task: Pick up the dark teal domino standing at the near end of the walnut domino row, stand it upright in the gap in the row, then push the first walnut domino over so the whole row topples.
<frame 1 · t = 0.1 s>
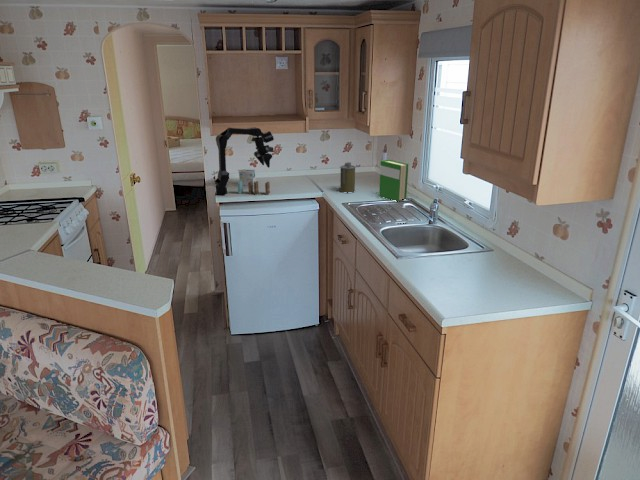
hand: (266, 166, 327), 15 cm above the worktop, tool pointing down, fingers open, 9 cm apart
canister: (347, 191, 321), on the worktop
domino a: (251, 193, 318), on the worktop
hardback book: (392, 198, 304), on the worktop
teal domino: (240, 192, 319), on the worktop
light bulb box: (247, 184, 341), on the worktop
domino b: (256, 193, 317), on the worktop
domino d: (267, 193, 316), on the worktop
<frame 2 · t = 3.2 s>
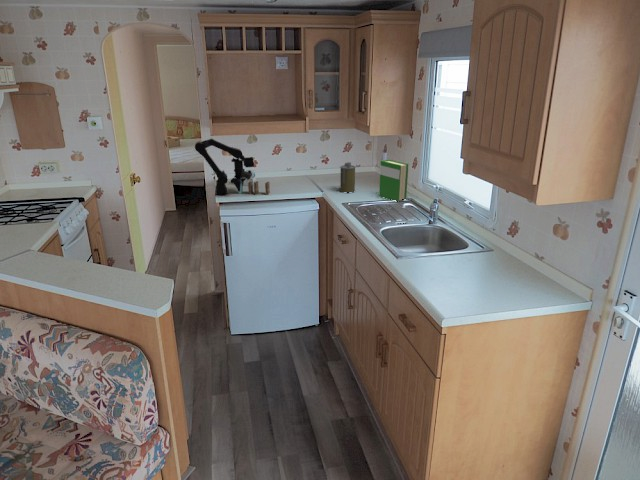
hand: (240, 190, 318), 2 cm above the worktop, tool pointing down, fingers closed on teal domino, 5 cm apart
teal domino: (240, 192, 319), on the worktop, touching gripper
everything else where it was.
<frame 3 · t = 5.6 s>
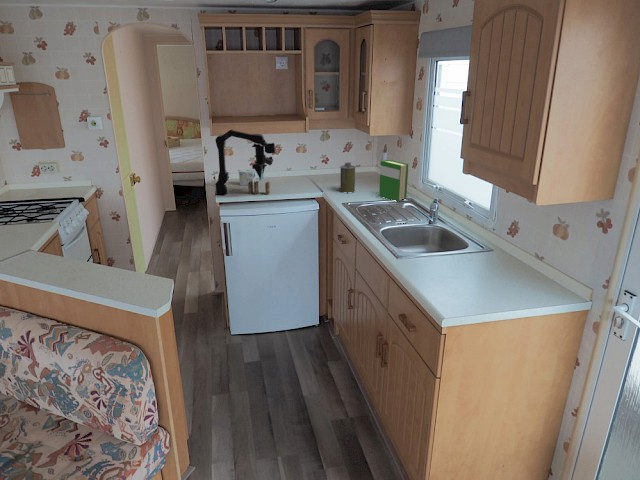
hand: (261, 176, 312), 12 cm above the worktop, tool pointing down, fingers closed on teal domino, 5 cm apart
teal domino: (261, 179, 313), point 10 cm above the worktop, touching gripper
everything else where it was.
when the fingers open (3 cm above the worktop, at t = 8.0 s): teal domino drops 1 cm, on the worktop.
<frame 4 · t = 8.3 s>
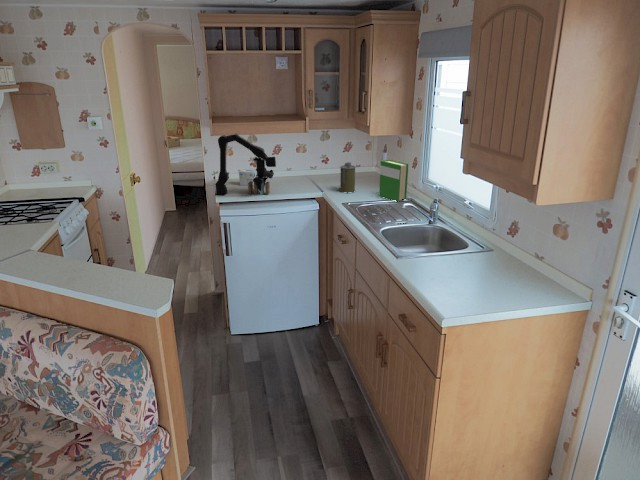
hand: (261, 189, 316), 3 cm above the worktop, tool pointing down, fingers open, 8 cm apart
teal domino: (262, 193, 317), on the worktop
everything else where it was.
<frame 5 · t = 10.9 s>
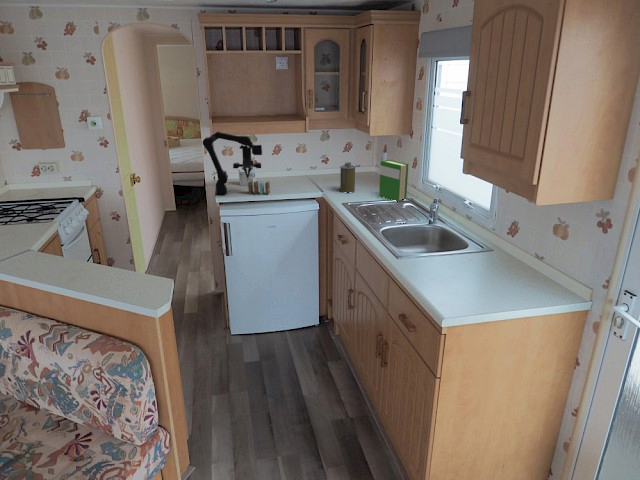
hand: (247, 177, 314), 11 cm above the worktop, tool pointing down, fingers closed
nothing on the worktop moved.
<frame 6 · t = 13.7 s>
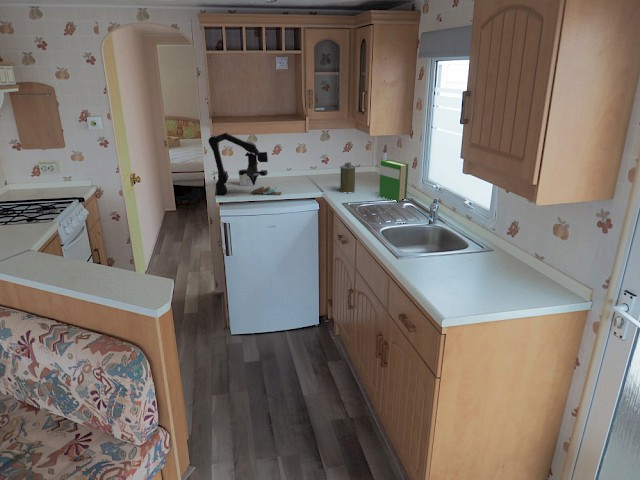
hand: (253, 184, 315), 6 cm above the worktop, tool pointing down, fingers closed
domino a: (252, 192, 318), point 1 cm above the worktop, tilted 67°, touching domino b
teal domino: (264, 192, 316), point 1 cm above the worktop, tilted 74°, touching domino b
domino b: (259, 192, 317), point 1 cm above the worktop, tilted 67°, touching domino a, teal domino
domino d: (269, 193, 316), on the worktop, tilted 90°
everything else where it was.
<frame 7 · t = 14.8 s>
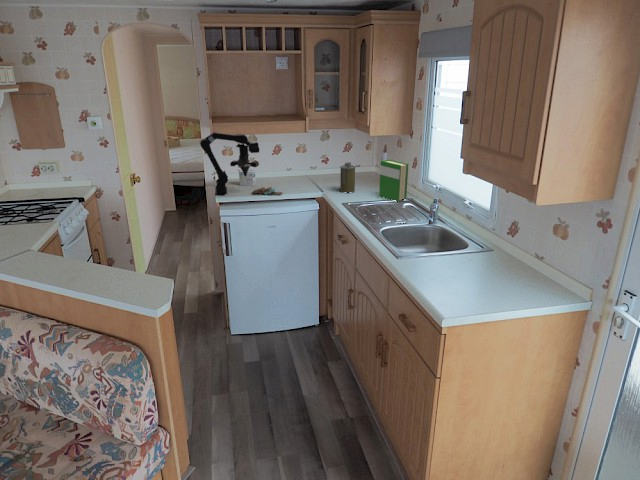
hand: (245, 176, 317), 11 cm above the worktop, tool pointing down, fingers closed
domino a: (253, 192, 318), point 1 cm above the worktop, tilted 69°, touching domino b
teal domino: (265, 192, 316), point 1 cm above the worktop, tilted 68°, touching domino b
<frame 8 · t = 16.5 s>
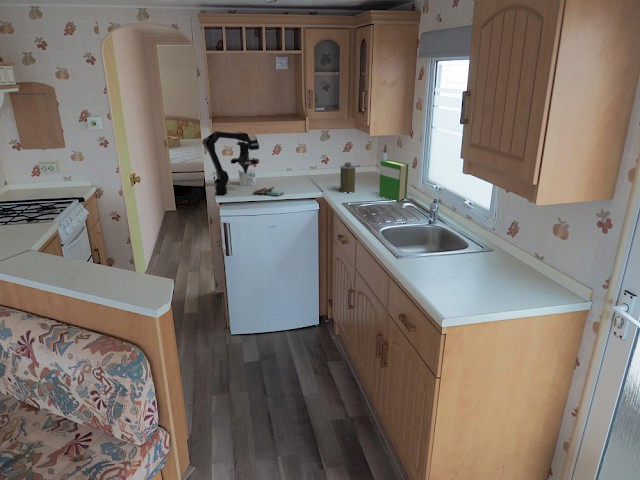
hand: (245, 173, 322), 12 cm above the worktop, tool pointing down, fingers closed
domino a: (255, 192, 317), point 1 cm above the worktop, tilted 70°
teal domino: (269, 192, 314), point 2 cm above the worktop, tilted 90°, touching domino b, domino d
domino b: (263, 192, 316), point 1 cm above the worktop, tilted 60°, touching teal domino
domino d: (271, 194, 316), on the worktop, tilted 90°, touching teal domino
everything else where it was.
at the end: domino d tilted 90°; teal domino tilted 90°; teal domino inside the target area (3.7 cm from its centre), point 1.6 cm above the worktop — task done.
